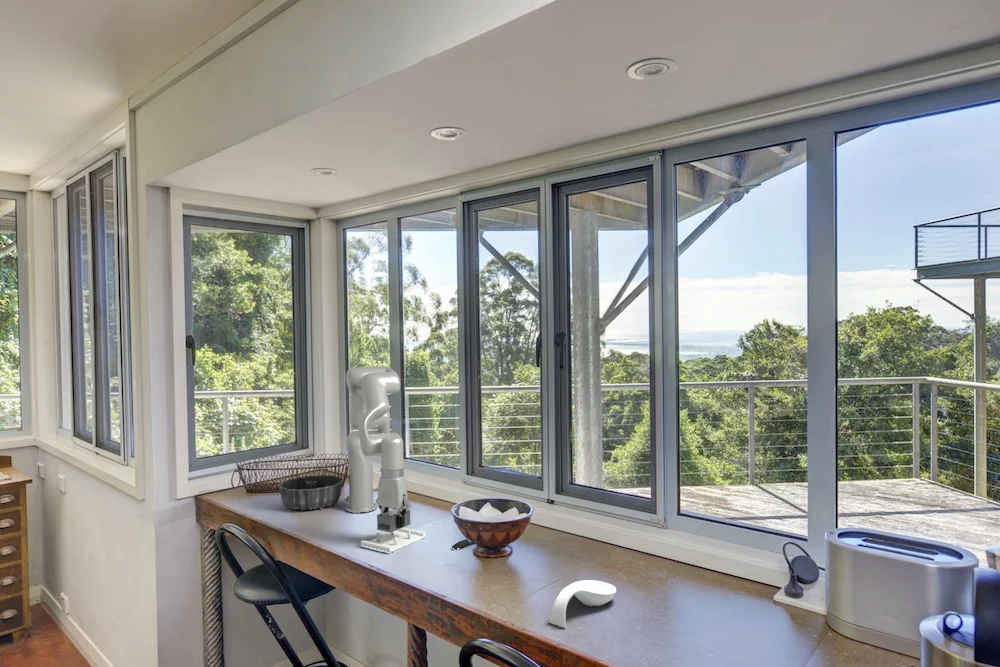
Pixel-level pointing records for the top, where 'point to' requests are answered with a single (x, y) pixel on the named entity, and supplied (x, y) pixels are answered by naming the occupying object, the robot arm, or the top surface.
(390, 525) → the block
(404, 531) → the tray
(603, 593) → the spoon rest
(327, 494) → the bundt pan
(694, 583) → the top surface
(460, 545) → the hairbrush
